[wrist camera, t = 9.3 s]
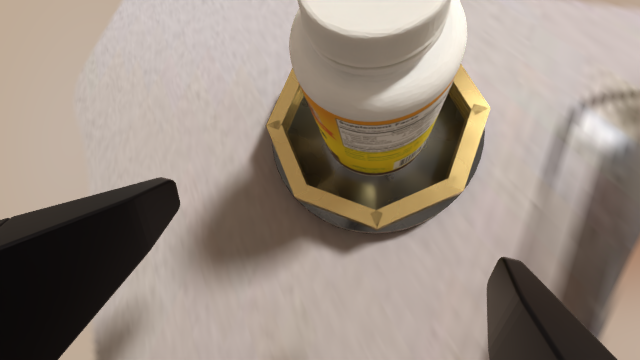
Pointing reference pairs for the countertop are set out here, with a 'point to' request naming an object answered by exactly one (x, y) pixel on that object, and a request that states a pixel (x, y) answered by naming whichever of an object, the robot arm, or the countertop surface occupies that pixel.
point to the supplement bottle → (376, 74)
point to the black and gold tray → (388, 190)
